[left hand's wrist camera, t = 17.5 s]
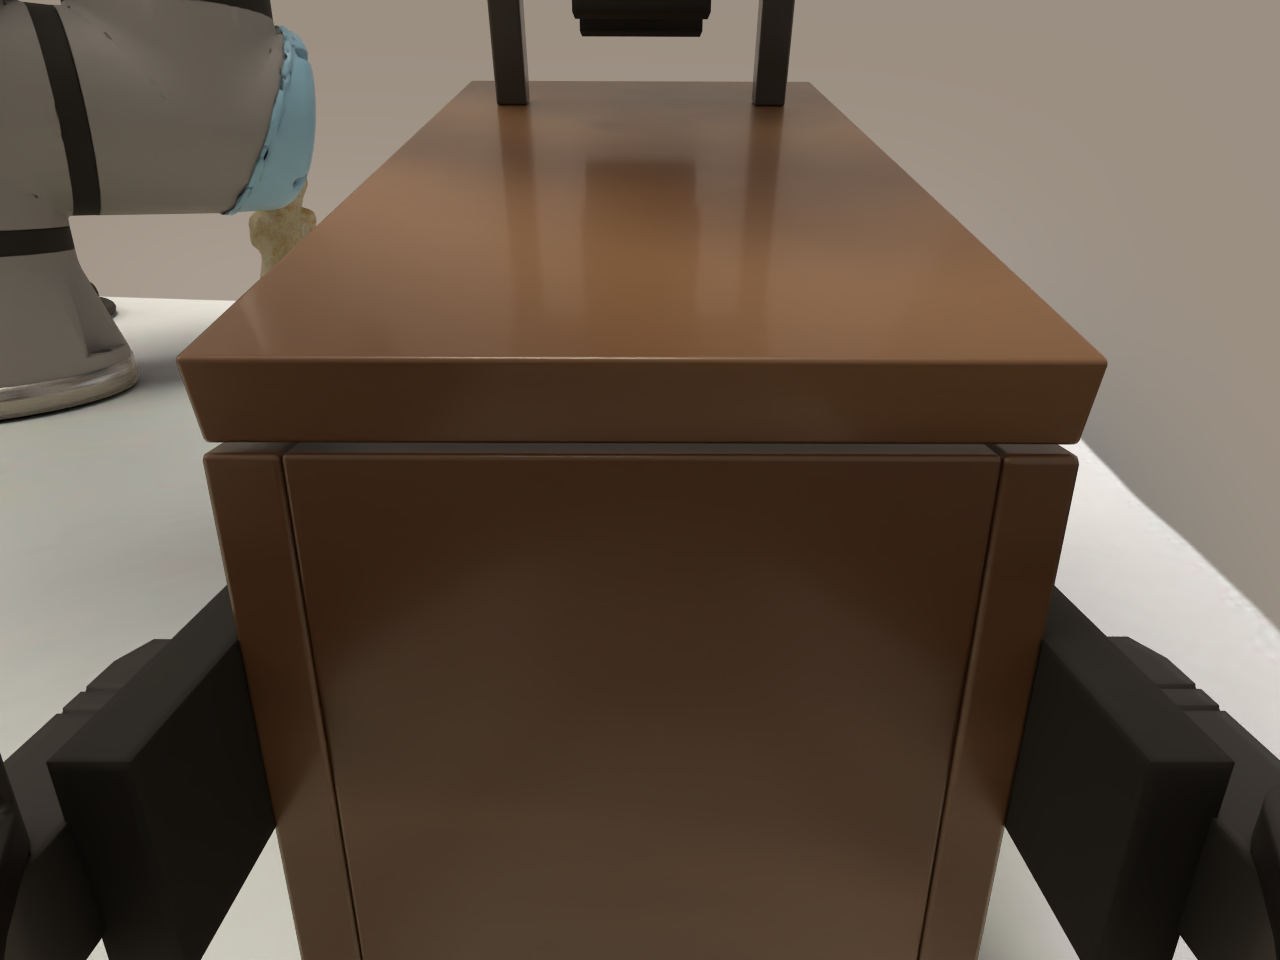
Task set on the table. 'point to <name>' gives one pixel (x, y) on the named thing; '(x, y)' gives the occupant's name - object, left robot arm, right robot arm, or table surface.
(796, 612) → the chest
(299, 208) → the sculpture
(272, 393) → the lid
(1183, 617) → the table surface
